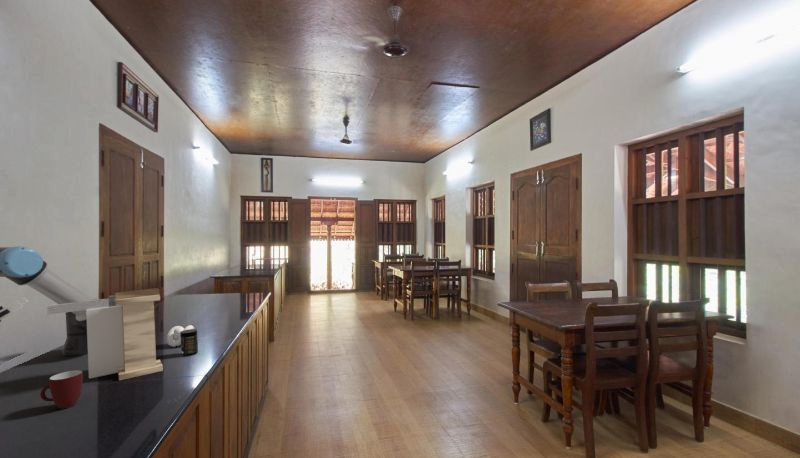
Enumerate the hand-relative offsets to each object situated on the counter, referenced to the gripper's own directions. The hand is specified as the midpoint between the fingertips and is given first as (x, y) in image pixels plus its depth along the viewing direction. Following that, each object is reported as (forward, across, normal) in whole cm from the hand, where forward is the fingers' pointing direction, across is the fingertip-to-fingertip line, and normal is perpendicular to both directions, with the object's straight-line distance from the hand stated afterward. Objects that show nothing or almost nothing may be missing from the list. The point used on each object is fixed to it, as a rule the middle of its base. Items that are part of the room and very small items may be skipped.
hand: (23, 301), depth 140 cm
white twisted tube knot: (+29, -17, -54) cm, 64 cm away
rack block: (+4, +3, -39) cm, 39 cm away
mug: (-6, +33, -33) cm, 47 cm away
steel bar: (+13, +3, -14) cm, 20 cm away
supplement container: (+29, +2, -54) cm, 61 cm away
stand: (+13, +13, -44) cm, 48 cm away
